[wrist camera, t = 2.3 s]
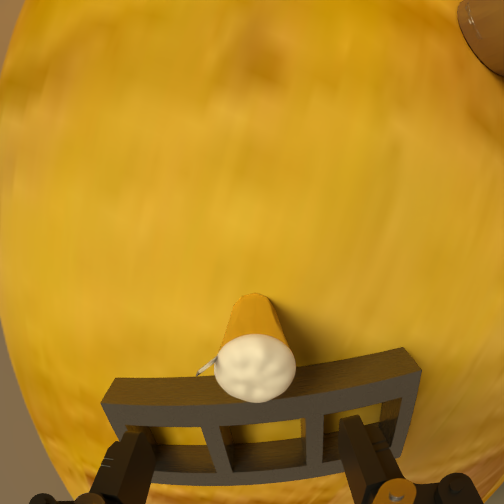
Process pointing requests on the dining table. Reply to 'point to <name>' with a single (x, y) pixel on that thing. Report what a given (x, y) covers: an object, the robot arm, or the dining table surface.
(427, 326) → the dining table surface
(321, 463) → the three-window grey frame
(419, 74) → the dining table surface
